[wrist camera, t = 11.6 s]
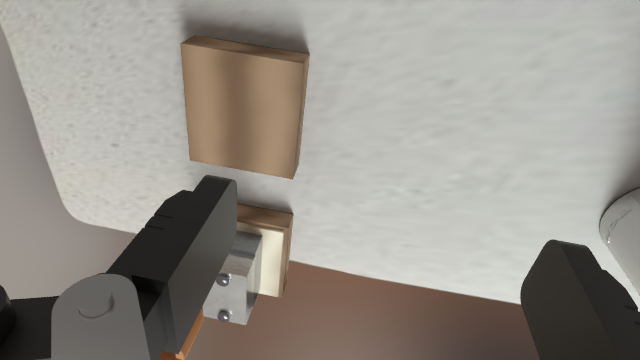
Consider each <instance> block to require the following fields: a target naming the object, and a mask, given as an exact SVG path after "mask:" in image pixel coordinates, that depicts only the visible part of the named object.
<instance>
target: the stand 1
mask: <svg viewBox="0 0 640 360" xmlns="http://www.w3.org/2000/svg"><path fill="white" fill-rule="evenodd" d="M181 55H182V68H183V81H184V93H185V106H186V118H187V131H188V144H189V156H190V160H191V161H197V162H202V163H207V164H213V165H218V166H224V167H229V168H235V169H240V170H245V171H251V172H256V173H262V174H267V175H273V176H278V177H283V178H289V179H293V177H294V175H295V172H296V170H297V167H298V165H299V155H300V145H301V135H302V125H303V115H304V105H305V96H306V86H307V76H308V66H309V56H310V54H305V53H299V52H293V51H287V50H281V49H275V48H269V47H262V46H256V45H250V44H244V43H238V42H232V41H226V40H220V39H213V38H207V37H201V36H193V37H191V38H189V39H188V40H186V41H184V42H182V43H181Z"/></svg>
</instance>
